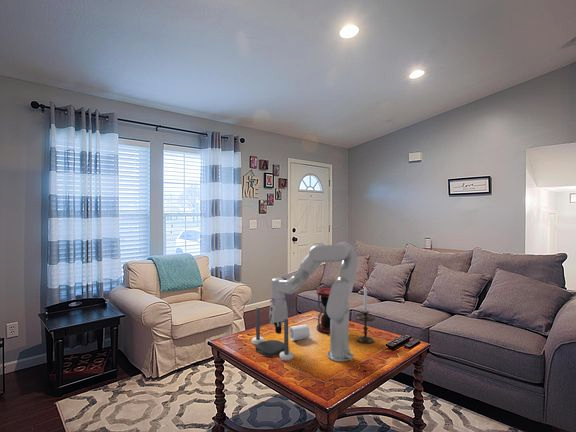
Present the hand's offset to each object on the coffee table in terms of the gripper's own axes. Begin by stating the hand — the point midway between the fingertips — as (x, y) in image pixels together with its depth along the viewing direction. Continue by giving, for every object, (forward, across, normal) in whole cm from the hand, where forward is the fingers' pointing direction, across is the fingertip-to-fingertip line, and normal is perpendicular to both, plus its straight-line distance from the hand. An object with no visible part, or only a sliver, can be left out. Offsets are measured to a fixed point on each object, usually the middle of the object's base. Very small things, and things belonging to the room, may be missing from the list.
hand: (278, 332), depth 190 cm
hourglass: (+8, +41, 0) cm, 42 cm away
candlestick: (+8, +44, -26) cm, 52 cm away
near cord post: (+8, -5, -13) cm, 16 cm away
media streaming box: (+9, -5, 0) cm, 10 cm away
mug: (+8, +17, +3) cm, 19 cm away
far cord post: (+8, -5, +13) cm, 16 cm away
